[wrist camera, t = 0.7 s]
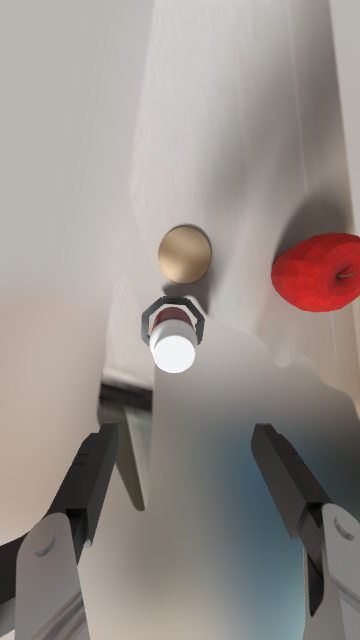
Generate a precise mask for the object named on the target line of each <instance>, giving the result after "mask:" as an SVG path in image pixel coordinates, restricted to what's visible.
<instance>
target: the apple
mask: <svg viewBox="0 0 360 640" xmlns="http://www.w3.org/2000/svg"><path fill="white" fill-rule="evenodd" d="M271 278H272V284H273V286H274V288H275V290H276V291H277V292H278V293H279V294H280V295H281V297H282V298H284V299H285V300H286V301H287V302H289V303H290V304H292V305H293V306H295V307H297V308H299V309H301V310H304V311H310V312H328V311H333V310H338V309H341V308H343V307H344V306H346V305H347V304H349V303H350V302H352V301H353V300H355V299H356V298H357V297H358V296H359V295H360V237H359V236H356V235H351V234H346V233H328V234H322V235H317V236H313V237H311V238H309V239H307V240H305V241H302V242H300V243H299V244H297V245H296V246H294V247H293V248H291V249H290V250H288V251H287V252H286V253H284V254H283V255H281V256H280V257H279V258H278V259H277V260H276V262H275V263H274V265H273V267H272V272H271Z"/></svg>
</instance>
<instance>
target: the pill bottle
mask: <svg viewBox="0 0 360 640" xmlns="http://www.w3.org/2000/svg"><path fill="white" fill-rule="evenodd" d="M197 343H198V341H197V336H196V333H195V330H194V328H193V325H192V323H191V320H190V318H189V316H188V315H187V313H186V312H185V311H183V310H182V309H180V308H177V307H168V308H165V309H164V310H162V311H160V312H159V314H158V315H157V316H156V318H155V322H154V325H153V329H152V332H151V336H150V349H151V352H152V354H153V355H154V360H155V362H156V364H157V365H158V366H159V367H160V368H161V369H162V370H164V371H166V372H171V373H177V372H182V371H184V370H186V369H187V368H189V367H190V366H191V364H192V363H193V361H194V359H195V351H196V348H197Z"/></svg>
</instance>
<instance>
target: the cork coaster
mask: <svg viewBox="0 0 360 640" xmlns="http://www.w3.org/2000/svg"><path fill="white" fill-rule="evenodd" d="M158 259H159V264H160V267H161V269H162V271H163V272H164V273H165V275H166V276H167V277H168V278H170V279H171V280H173V281H175V282H178V283H191V282H194V281H196V280H198V279H199V278H201V277H202V276H203V275H204V274H205V272H206V271H207V269H208V267H209V265H210V261H211V249H210V246H209V243H208V241H207V239H206V238H205V237H204V235H203V234H202V233H200V232H199V231H197V230H196V229H193V228H189V227H180V228H176V229H174V230H172V231H170V232H169V233H168V234H167V235H166V236H165V237H164V239H163V240H162V242H161V244H160V247H159V252H158Z"/></svg>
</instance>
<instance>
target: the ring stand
mask: <svg viewBox="0 0 360 640" xmlns="http://www.w3.org/2000/svg"><path fill="white" fill-rule="evenodd" d="M163 304H176V305H186V307H187V308H188V309H189V310H190V311H191V312H192V314H193V315H194V316H195V317H196V318H197V324H195V328H196V336H197V341H198V343H197V345H199V344H200V343H201V342H200V341H202V336H203V329H204V321H205V319H204V317H203V315H202V314H201V313H200V312H199V311H198V309H197V308H196V307H195V306H194V305H193V303H192V302H191V301H190V300H189V299H187V298H181V297H168V296H163V298H162V297H161V298H159V299H158V300H157V301H156V302H155V303H153V305H151V306H150V307H149V308H148V309H146V310H145V311H144V312H143V314H142V327H141V338H142V340H143V341H144V342H145V343H146V344H147V345H148V346H149V347H150V336H149V335H148V327H149V316H150V315H151V314H153V313H154V312H155V311H156V310H157V309H158V308H160V307H161V306H162V305H163Z"/></svg>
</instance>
